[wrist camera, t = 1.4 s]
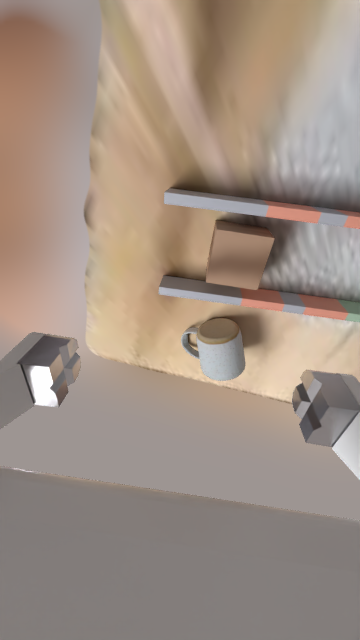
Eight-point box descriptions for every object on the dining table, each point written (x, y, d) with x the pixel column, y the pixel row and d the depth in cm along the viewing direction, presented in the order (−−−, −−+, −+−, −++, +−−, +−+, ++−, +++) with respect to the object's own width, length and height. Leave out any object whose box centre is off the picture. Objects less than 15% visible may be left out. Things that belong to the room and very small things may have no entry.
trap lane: (169, 188, 31) (164, 192, 28) (472, 226, 30) (504, 235, 27) (163, 282, 39) (158, 294, 36) (405, 315, 38) (423, 331, 35)
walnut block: (215, 220, 33) (216, 229, 29) (266, 227, 33) (274, 238, 29) (206, 268, 37) (205, 282, 33) (251, 275, 37) (257, 290, 33)
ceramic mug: (238, 312, 41) (242, 341, 35) (243, 349, 45) (247, 381, 39) (177, 320, 43) (170, 348, 37) (187, 354, 48) (183, 385, 41)
